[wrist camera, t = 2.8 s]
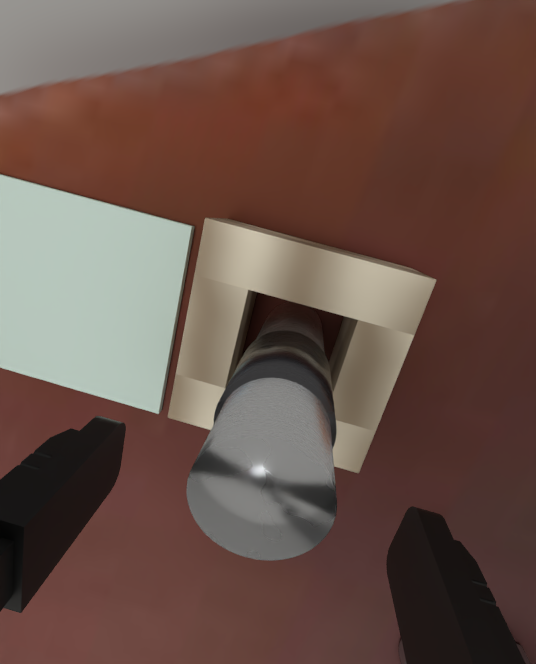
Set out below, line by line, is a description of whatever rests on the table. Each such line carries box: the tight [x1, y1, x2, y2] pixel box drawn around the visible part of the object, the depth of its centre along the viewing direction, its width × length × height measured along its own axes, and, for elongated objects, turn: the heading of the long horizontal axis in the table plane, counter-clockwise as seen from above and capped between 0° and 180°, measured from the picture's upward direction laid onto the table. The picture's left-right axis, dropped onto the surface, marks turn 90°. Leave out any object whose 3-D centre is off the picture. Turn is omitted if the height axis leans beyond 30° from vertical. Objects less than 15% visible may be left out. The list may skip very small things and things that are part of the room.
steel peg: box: [187, 302, 337, 560], centre depth 17 cm, size 4×4×16 cm
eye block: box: [168, 218, 436, 473], centre depth 22 cm, size 12×12×5 cm
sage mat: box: [0, 174, 195, 414], centre depth 26 cm, size 14×14×1 cm
